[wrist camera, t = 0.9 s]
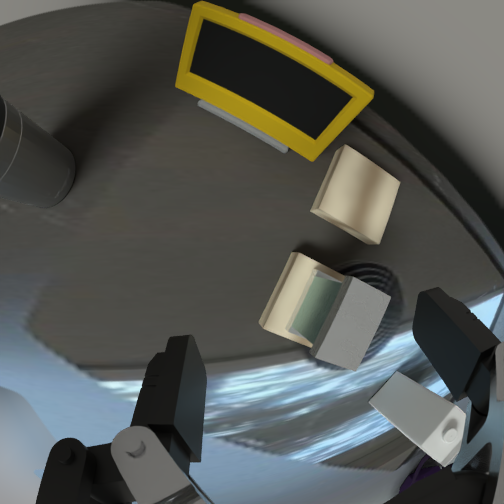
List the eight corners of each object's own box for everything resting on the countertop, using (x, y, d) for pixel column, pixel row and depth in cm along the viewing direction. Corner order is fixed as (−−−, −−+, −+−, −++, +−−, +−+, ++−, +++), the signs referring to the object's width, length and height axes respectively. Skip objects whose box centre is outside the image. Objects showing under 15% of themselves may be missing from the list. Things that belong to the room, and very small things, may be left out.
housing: (284, 328, 34) (315, 357, 24) (313, 268, 34) (353, 276, 25) (318, 341, 35) (355, 371, 25) (345, 285, 35) (391, 297, 25)
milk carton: (411, 389, 42) (483, 433, 23) (385, 418, 41) (450, 472, 22) (396, 369, 41) (475, 416, 22) (367, 401, 40) (438, 461, 21)
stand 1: (258, 322, 37) (263, 328, 34) (291, 252, 37) (299, 252, 34) (321, 347, 38) (329, 354, 35) (351, 282, 39) (362, 285, 36)
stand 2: (310, 211, 37) (318, 208, 34) (336, 150, 38) (345, 144, 35) (367, 244, 39) (379, 244, 36) (388, 185, 40) (400, 182, 37)
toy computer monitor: (176, 99, 34) (166, 24, 19) (207, 62, 35) (214, -15, 19) (303, 169, 37) (362, 126, 22) (326, 127, 38) (384, 75, 22)
